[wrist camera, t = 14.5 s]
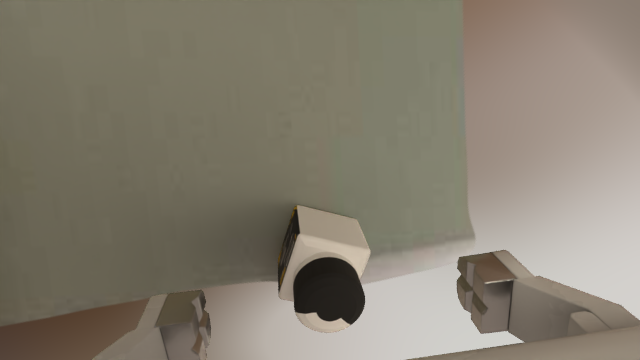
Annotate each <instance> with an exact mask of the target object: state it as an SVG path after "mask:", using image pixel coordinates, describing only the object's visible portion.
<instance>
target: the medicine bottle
mask: <svg viewBox="0 0 640 360" xmlns="http://www.w3.org/2000/svg"><path fill="white" fill-rule="evenodd" d="M369 256H370V249H369V247H368V244H367V242H366V240H365V237H364V235H363V232H362V230H361V228H360V225H359V223H358V221H357V220H356V219H354V218H350V217H346V216H341V215H337V214H333V213H329V212H325V211H321V210H317V209H313V208H309V207H304V206H300V205H296V206H295V207H294V210H293V213H292V217H291V220H290V223H289V226H288V229H287V233H286V236H285V239H284V242H283V245H282V249H281V252H280V255H279V258H278V285H279V286H278V287H279V289H278V290H279V298H280V299H283V300H289V301H294V308H295V313H296V315H297V317H298V319H299V320H300V321H301V323H302V324H304V325H305V326H306V327H308V328H310V329H312V330H314V331H318V332H324V333H331V332H337V331H340V330H343V329H345V328H347V327H349V326H350V325H351V324H353V323H354V322H355V321H356V320H357V319H358V318H359V316H360V315H361V313H362V311H363V309H364V305H365V295H364V292H363V289H362V285H361V282H360V279H361V276H362V274H363V271H364V269H365V266H366V264H367V261H368V258H369Z"/></svg>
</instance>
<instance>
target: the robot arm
mask: <svg viewBox="0 0 640 360" xmlns="http://www.w3.org/2000/svg"><path fill="white" fill-rule="evenodd" d="M457 269H458V270H459V271H460V273H461V276H460V277H459V278H458V280H457V293H458V298H459V300H460V303H461V305H462V306H463V308H464V309H465V310H467V311H468V312H470V313H471V320H472V321H473V323H474V324H475V326H476V327H477V329H478V330H479V332H480V333H481V334H483V333H492V332H501V331H508V332H509V333H511V334H513V335H514V336H516V337H517V338H519V339H520V340H522V341H524V343H517V344H511V345H504V346H497V347H490V348H483V349H477V350H469V351H462V352H456V353H449V354H442V355H435V356H428V357H422V358H414V359H407V360H640V320H638V319H637V318H635V316H633V315H632V314H631V313H630V312H628V311H627V310H626V309H625V308H623V307H622V306H621V305H619V304H616V303H613V302H610V301H608V300H605V299H602V298H599V297H596V296H594V295H590V294H588V293H585V292H583V291H580V290H577V289H574V288H571V287H569V286H566V285H563V284H560V283H557V282H554V281H551V280H549V279H546V278H543V277H541V276H536V277H535V276H534V275H532V274H531V273H530V272H529V271H528V270H527V269H526V268H525V267H524V266H523V265H522V264H521V263H520V262H519V261H518V260H517V259H516V258H514V256H512V255H511V254H510V253H509V252H508V251H506V250H501V251H495V252H490V253H483V254H477V255H470V256H463V257H459V259H458V267H457ZM205 303H206V300H205V296H204V293H203V291H202V290H197V291H187V292H178V293H170V294H161V295H154V296H152V297H150V299H149V301H148V303H147V306H146V308H145V310H144V312H143V314H142V316H141V318H140V320H139V323H138V325H137V327H136V329H135V330H134V331H129V332H128V333H126V334H125V335H124V336H122V337H121V338H120V339H118V340H117V341H116V342H114V343H113V344H112V345H110V346H109V347H108V348H106V349H105V350H103V351H102V352H101V353H99V354H98V355H97V356H95V357H94V358H93V359H91V360H206V358H207V354H206V350H205V348H206V347H207V346H208V345H209V343H210V338H211V325H210V318H209V313H207V312H206V311H205V310H204V308H205Z"/></svg>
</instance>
